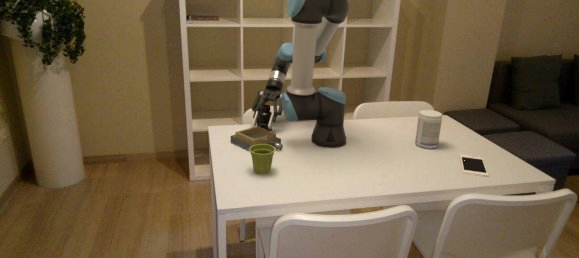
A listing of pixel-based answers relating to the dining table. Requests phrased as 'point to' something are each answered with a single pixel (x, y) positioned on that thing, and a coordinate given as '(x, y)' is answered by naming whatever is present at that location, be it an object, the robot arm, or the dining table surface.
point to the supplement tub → (428, 129)
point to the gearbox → (255, 138)
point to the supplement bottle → (264, 117)
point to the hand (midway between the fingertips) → (261, 126)
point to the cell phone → (473, 165)
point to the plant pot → (262, 157)
